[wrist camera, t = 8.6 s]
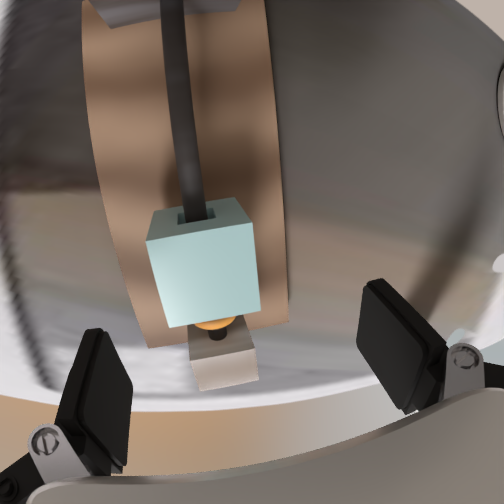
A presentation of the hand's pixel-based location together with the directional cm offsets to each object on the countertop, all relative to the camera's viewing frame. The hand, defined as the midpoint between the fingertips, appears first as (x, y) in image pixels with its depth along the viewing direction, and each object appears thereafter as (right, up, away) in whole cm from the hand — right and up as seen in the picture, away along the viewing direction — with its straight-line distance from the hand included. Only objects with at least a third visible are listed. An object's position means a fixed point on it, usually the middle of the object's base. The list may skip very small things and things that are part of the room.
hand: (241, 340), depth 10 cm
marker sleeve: (-3, +4, +9) cm, 10 cm away
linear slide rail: (-4, +9, +10) cm, 14 cm away
